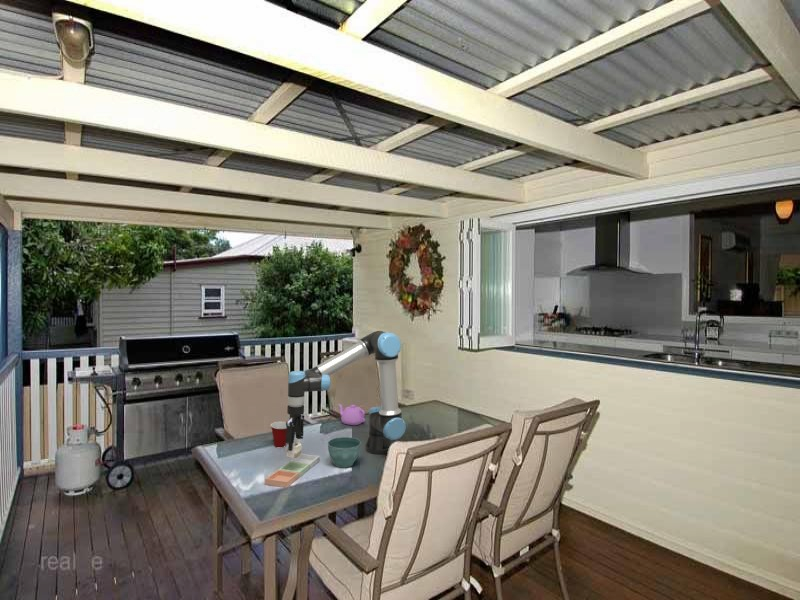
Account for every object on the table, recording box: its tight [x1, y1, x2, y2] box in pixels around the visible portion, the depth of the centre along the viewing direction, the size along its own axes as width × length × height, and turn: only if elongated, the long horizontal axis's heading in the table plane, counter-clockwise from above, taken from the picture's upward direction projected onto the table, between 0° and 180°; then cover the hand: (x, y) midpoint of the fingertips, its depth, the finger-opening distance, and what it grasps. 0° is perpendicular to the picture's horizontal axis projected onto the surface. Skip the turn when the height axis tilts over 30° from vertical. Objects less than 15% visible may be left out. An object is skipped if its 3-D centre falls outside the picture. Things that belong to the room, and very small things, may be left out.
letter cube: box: [285, 442, 303, 459], centre depth 210 cm, size 5×5×5 cm
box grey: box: [290, 453, 321, 470], centre depth 221 cm, size 11×11×2 cm
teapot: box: [337, 403, 366, 426], centre depth 292 cm, size 20×13×12 cm, turn 68°
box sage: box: [277, 460, 311, 479], centre depth 211 cm, size 11×11×2 cm
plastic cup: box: [270, 421, 287, 448], centre depth 245 cm, size 11×11×12 cm
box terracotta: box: [264, 469, 300, 489], centre depth 200 cm, size 11×11×2 cm
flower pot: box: [327, 436, 362, 468], centre depth 222 cm, size 16×16×11 cm
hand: (294, 454), depth 210 cm, fingers closed on letter cube, 5 cm apart
